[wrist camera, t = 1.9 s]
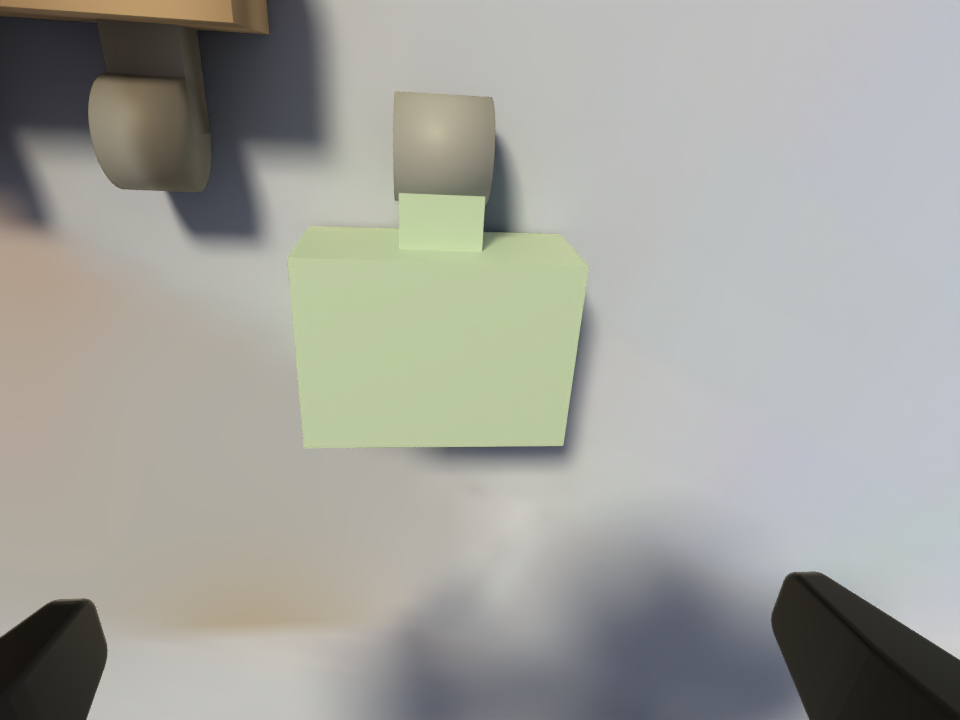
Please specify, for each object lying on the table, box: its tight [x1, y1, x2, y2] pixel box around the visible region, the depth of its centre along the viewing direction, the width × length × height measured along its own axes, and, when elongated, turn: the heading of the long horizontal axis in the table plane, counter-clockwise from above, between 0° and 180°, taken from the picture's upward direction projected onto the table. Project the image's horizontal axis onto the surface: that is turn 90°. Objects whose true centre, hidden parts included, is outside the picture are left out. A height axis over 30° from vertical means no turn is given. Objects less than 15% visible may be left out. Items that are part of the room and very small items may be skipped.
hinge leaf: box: [287, 91, 589, 448], centre depth 15 cm, size 7×8×3 cm
